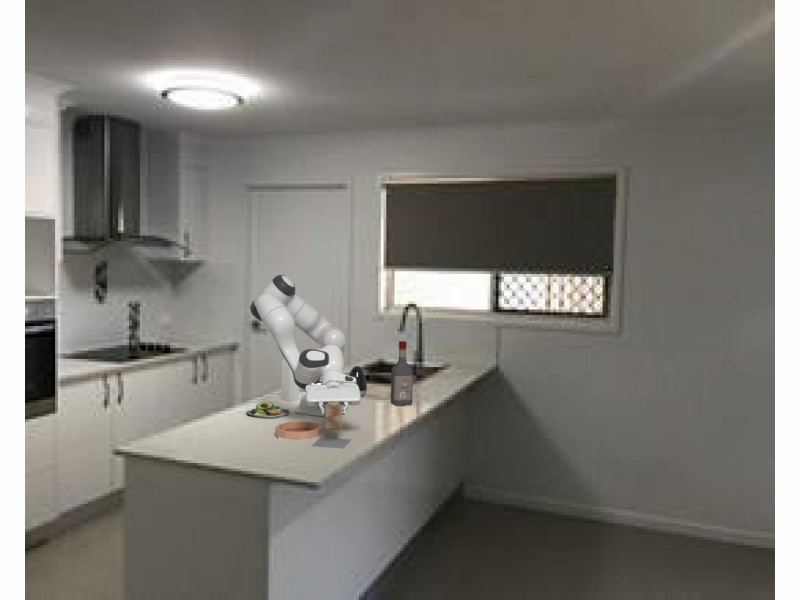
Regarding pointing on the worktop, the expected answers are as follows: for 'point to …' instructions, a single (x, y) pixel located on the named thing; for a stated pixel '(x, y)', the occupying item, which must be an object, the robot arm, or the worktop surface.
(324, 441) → the parts tray
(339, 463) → the worktop surface
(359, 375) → the black egg-shaped dome
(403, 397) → the liquor
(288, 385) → the milk
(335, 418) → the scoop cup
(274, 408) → the salad plate
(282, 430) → the bowl
